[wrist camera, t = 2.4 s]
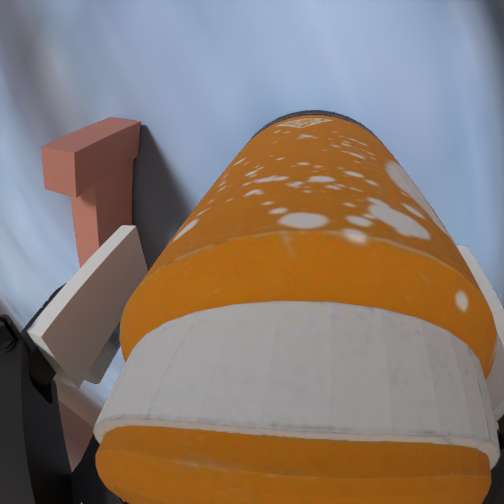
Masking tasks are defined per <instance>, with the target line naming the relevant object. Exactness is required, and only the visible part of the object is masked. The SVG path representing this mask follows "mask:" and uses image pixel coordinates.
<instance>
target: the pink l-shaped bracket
mask: <svg viewBox="0 0 504 504" xmlns="http://www.w3.org/2000/svg"><path fill="white" fill-rule="evenodd" d="M140 125H141V121H134V120H128V119H120V118H113V117H110V118H107V119H105V120H102V121H99V122H97V123H94V124H92V125H89V126H87V127H85V128H82V129H80V130H77V131H75V132H73V133H71V134H68V135H66V136H64V137H62V138H59V139H57V140H55V141H53V142H51V143H49V144H47V145H45V146H43V147H42V162H43V174H44V184H45V189H47V190H50V191H54V192H57V193H61V194H64V195H68V196H71V202H72V212H73V221H74V229H75V237H76V244H77V251H78V257H79V263H80V268H81V267H82V266H83V265H84V264H85V263H86V262H87V260H88V259H89V258H90V257H91V256H92V255H93V254H94V253H95V252H96V251H97V250H98V249H99V248H100V247H101V246H102V245H103V244H104V243H105V242H106V241H107V240H108V239H109V238H110V237H111V236H112V235H113V234H114V233H115V232H116V231H117V230H118V229H119V228H120V227H121V226H122V225H129V226H132V181H133V159H134V158H136V157H137V156H138V149H139V136H140Z"/></svg>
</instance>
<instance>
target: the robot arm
mask: <svg viewBox="0 0 504 504" xmlns="http://www.w3.org/2000/svg"><path fill="white" fill-rule="evenodd" d="M456 246H457V245H456ZM457 248H458V249H459V251H460V253H461V254H462V256H463V258H464V260H465V261H466V263H467V265H468V267H469V268H470V270H471V272H472V274H473V276H474V277H475V279H476V281H477V283H478V285H479V287H480V289H481V291H482V293H483V295H484V297H485V299H486V301H487V303H488V305H489V307H490V309H491V311H492V314H493V318H494V322H495V326H496V330H497V352H496V356H495V359H494V363H493V366H492V370H491V372H490V374H489V376H488V378H487V379H486V385H487V388H488V392H489V397H490V401H491V405H492V410H493V414H494V419H495V423H496V422H497V421H498V424H499V429H498V430H497V436H498V442H499V448H500V458H499V460H498V463H497V464H496V465H495V466H494V468H493V469H492V470H491V481H492V482H491V485H490V488H489V491H488V494H487V495H486V497H485V499H484V500H483V502H482V504H504V308H503V306H502V305H501V303H500V301H499V299H498V297H497V295H496V293H495V291H494V290H493V288H492V286H491V284H490V282H489V281H488V279H487V277H486V275H485V274H484V272H483V270H482V269H481V267H480V265H479V264H478V262H477V260H476V259H475V257H474V256H473V254H472V252H471V251H470V249H469V248H468V246H457ZM147 273H148V269H147V265H146V262H145V258H144V255H143V251H142V247H141V243H140V239H139V235H138V231H137V227H136V226H129V225H122V226H121V227H120V228H119V229H118V230H117V231H116V232H115V233H114V234H113V235H112V236H111V237H110V238H109V239H108V240H107V241H106V242H105V243H104V244H103V245H102V246H101V247H100V248H99V249H98V250H97V251H96V252H95V253H94V254H93V255H92V256H91V257H90V258H89V259H88V260H87V262H86V263H85V264H84V265H83V266H82V267H81V268H80V269H79V270H78V271H77V272H76V273H75V275H74V276H73V277H72V278H71V279H70V280H69V281H68V282H67V283H65V284H64V285H63V286H61V287H60V288H58V289H57V290H56V291H55V292H54V293H53V294H52V295H51V297H50V298H49V300H48V301H46V302H45V304H44V305H43V307H42V308H40V309H39V311H38V312H37V313H36V314H35V315H34V317H33V318H32V319H31V320H30V322H29V323H28V324H27V325H26V327H25V328H24V329H23V330H22V332H21V333H20V332H19V331H18V329H17V328H16V326H15V325H14V323H13V321H12V320H11V318H10V317H9V316H8V315H5V314H3V315H0V504H74V502H73V494H72V485H71V473H72V471H71V467H70V464H69V459H68V455H67V451H66V445H65V440H64V435H63V429H62V424H61V417H60V411H59V404H58V396H57V387H56V383H55V381H54V380H53V377H54V376H55V374H57V375H58V376H59V378H60V379H61V380H62V382H63V383H65V384H67V385H70V386H72V387H74V388H77V389H79V387H80V385H81V383H82V382H83V380H84V378H85V377H86V375H87V373H88V372H89V370H90V368H91V367H92V365H93V363H94V362H95V360H96V358H97V357H98V355H99V354H100V352H101V350H102V349H103V347H104V345H105V344H106V342H107V341H108V339H109V338H110V336H111V334H112V333H113V331H114V330H115V328H116V327H117V325H118V323H119V322H120V320H121V318H122V315H123V312H124V309H125V306H126V303H127V302H128V300H129V299H130V297H131V296H132V294H133V293H134V292H135V290H136V289H137V287H138V286H139V284H140V283H141V281H142V280H143V278H144V277H145V276H146V274H147ZM80 504H81V503H80Z"/></svg>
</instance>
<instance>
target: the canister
mask: <svg viewBox="0 0 504 504" xmlns="http://www.w3.org/2000/svg"><path fill="white" fill-rule="evenodd" d="M120 344H121V349H122V354H123V357H124V359H125V362H126V363H125V365H124V367H123V369H122V371H121V373H120V375H119V377H118V379H117V381H116V383H115V385H114V387H113V389H112V391H111V393H110V395H109V397H108V399H107V401H106V403H105V405H104V407H103V409H102V411H101V413H100V415H99V417H98V420H97V422H96V424H95V427H94V430H93V433H94V434H93V436H92V438H91V440H90V442H89V445H88V447H87V449H86V451H85V453H84V455H83V458H82V460H81V461H80V463H79V464H78V465H77V467H76V468H75V469H74V471H73V472H72V473H71V485H72V494H73V502H74V504H80V503H81V502H82V503H83V504H482V502H483V500H484V499H485V497H486V495H487V494H488V491H489V488H490V485H491V482H492V481H491V470H492V469H493V468H494V466H495V465H496V464H497V463H498V460H499V458H500V448H499V442H498V436H497V430H496V425H495V419H494V414H493V410H492V405H491V401H490V397H489V392H488V388H487V385H486V379H487V378H488V376H489V374H490V372H491V370H492V366H493V363H494V359H495V356H496V352H497V330H496V326H495V322H494V318H493V314H492V311H491V309H490V307H489V305H488V303H487V301H486V299H485V297H484V295H483V293H482V291H481V289H480V287H479V285H478V283H477V281H476V279H475V277H474V276H473V274H472V272H471V270H470V268H469V267H468V265H467V263H466V261H465V260H464V258H463V256H462V254H461V253H460V251H459V249H458V248H457V246H456V244H455V243H454V241H453V239H452V238H451V236H450V235H449V233H448V231H447V230H446V228H445V227H444V225H443V224H442V222H441V221H440V219H439V218H438V216H437V215H436V213H435V212H434V210H433V209H432V207H431V206H430V204H429V203H428V201H427V200H426V199H425V197H424V196H423V194H422V193H421V192H420V190H419V189H418V187H417V186H416V185H415V183H414V182H413V181H412V179H411V178H410V177H409V175H408V174H407V173H406V172H405V170H404V169H403V168H402V166H401V165H400V164H399V163H398V161H397V160H396V159H395V158H394V156H393V155H392V154H391V153H390V152H389V150H388V149H387V148H386V147H385V146H384V144H383V143H382V142H381V141H380V140H379V139H378V138H377V137H376V136H375V135H374V134H373V132H371V131H370V130H369V129H368V128H366V127H365V126H364V125H362V124H361V123H359V122H357V121H355V120H353V119H351V118H349V117H347V116H344V115H341V114H338V113H335V112H328V111H322V110H306V111H300V112H295V113H291V114H288V115H285V116H282V117H280V118H277V119H276V120H274V121H272V122H270V123H269V124H267V125H266V126H264V127H263V128H262V129H261V130H259V131H258V132H257V133H256V134H255V135H254V136H253V137H252V139H251V140H250V141H249V142H248V143H247V144H246V146H245V147H244V148H243V149H242V150H241V152H240V153H239V154H238V155H237V156H236V158H235V159H234V160H233V161H232V162H231V164H230V165H229V166H228V167H227V168H226V170H225V171H224V172H223V173H222V175H221V176H220V177H219V178H218V180H217V181H216V182H215V183H214V185H213V186H212V187H211V188H210V190H209V191H208V192H207V193H206V195H205V196H204V197H203V199H202V200H201V201H200V202H199V204H198V205H197V206H196V208H195V209H194V210H193V211H192V213H191V214H190V215H189V217H188V218H187V219H186V221H185V222H184V223H183V225H182V226H181V227H180V229H179V230H178V231H177V233H176V234H175V235H174V237H173V238H172V239H171V241H170V242H169V243H168V245H167V246H166V248H165V249H164V250H163V252H162V253H161V254H160V256H159V257H158V259H157V260H156V261H155V263H154V264H153V266H152V267H151V268H150V270H149V271H148V273H147V274H146V276H145V277H144V278H143V280H142V281H141V283H140V284H139V286H138V287H137V289H136V290H135V292H134V293H133V294H132V296H131V297H130V299H129V300H128V302H127V303H126V306H125V309H124V312H123V315H122V318H121V321H120ZM122 499H123V500H124V501H125V502H124V503H123V501H122Z"/></svg>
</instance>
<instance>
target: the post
mask: <svg viewBox="0 0 504 504" xmlns="http://www.w3.org/2000/svg"><path fill="white" fill-rule="evenodd" d="M120 321H121V320H120ZM120 346H121V344H120V322H119V323H118V325H117V327H116V328H115V330H114V331H113V333H112V334H111V336H110V338H109V339H108V341H107V342H106V344H105V345H104V347H103V349H102V350H101V352H100V354H99V355H98V357H97V358H96V360H95V362H94V363H93V365H92V367H91V368H90V370H89V372H88V373H87V375H86V377H85V378H84V379H85V380H86V381H88V382H91V383H94V384H99V383H100V381H101V379H102V378H103V376H104V374H105V372H106V370H107V369H108V367H109V365H110V363H111V362H112V360H113V358H114V356H115V355H116V353H117V351H118V349H119V348H120Z"/></svg>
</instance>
